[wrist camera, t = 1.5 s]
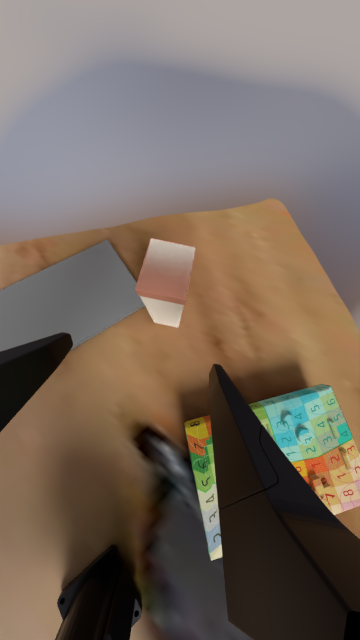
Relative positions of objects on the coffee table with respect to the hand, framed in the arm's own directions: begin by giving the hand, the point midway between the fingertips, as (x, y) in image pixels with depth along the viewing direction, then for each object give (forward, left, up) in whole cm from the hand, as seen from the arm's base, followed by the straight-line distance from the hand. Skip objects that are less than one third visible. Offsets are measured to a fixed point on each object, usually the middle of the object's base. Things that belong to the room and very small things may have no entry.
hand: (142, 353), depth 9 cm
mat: (-9, +15, -13) cm, 22 cm away
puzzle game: (+5, -18, -14) cm, 23 cm away
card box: (+5, +5, -13) cm, 15 cm away
